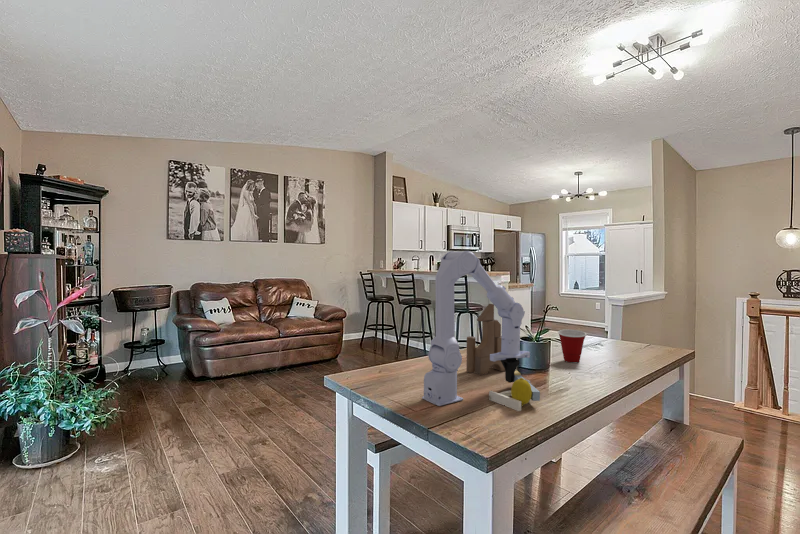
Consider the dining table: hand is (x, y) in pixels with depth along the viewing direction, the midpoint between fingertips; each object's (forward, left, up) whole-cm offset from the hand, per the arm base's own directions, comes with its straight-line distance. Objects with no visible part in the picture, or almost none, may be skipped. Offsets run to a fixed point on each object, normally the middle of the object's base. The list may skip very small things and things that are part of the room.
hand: (509, 381), depth 131 cm
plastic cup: (+48, +10, -2) cm, 49 cm away
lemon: (-10, -13, -2) cm, 16 cm away
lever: (-2, -7, 0) cm, 8 cm away
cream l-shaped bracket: (-9, -9, -2) cm, 13 cm away
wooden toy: (+9, +19, -2) cm, 21 cm away
